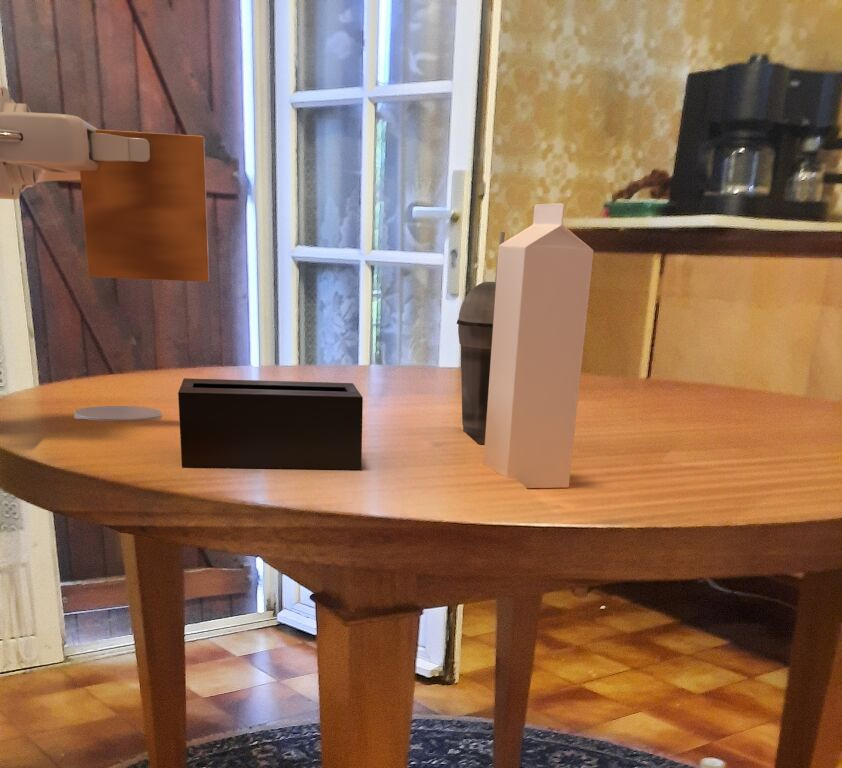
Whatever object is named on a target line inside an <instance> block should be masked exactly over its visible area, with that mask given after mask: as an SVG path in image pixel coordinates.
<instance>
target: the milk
mask: <svg viewBox="0 0 842 768" xmlns="http://www.w3.org/2000/svg"><path fill="white" fill-rule="evenodd" d="M564 215H565V205H564V202H563V203H562V202H560V203H559V202H558V203H557V202H556V203H536V204H535V205H534V209H533V217H532V224H531V225H530V226H528V227H526V228H525V229H523V230H522V231H520V232H518V233H517V234H515V235H514V236H512V237H510V238H508V239H507V240H504V243H502V244H500V245H499V244H498V248H499V249H498V250H497V258H498V263H497V262H496V267H497V277H496V276H495V277H496V291H495V305H494V320H493V334H492V348H491V362H490V377H489V391H488V405H487V419H486V434H485V445H484V450H483V461H482V463H483V466H484V467H487V468H488V469H490V470H491V471H494V472H495V473H497V474H498V475H501V476H502V477H503V478H506V479H516V480H517V481H518V482H519V483H520V484H521V485H522V486H523V487H524V488H525V489H560V488H563V489H564V488H565V489H567V488H569V487H570V481H571V480H570V479H571V469H572V461H573V460H572V459H573V450H574V442H575V433H576V431H575V430H576V421H577V413H578V401H579V394H580V393H579V392H580V385H581V384H580V383H581V374H582V364H583V355H584V347H585V336H586V327H587V317H588V306H589V297H590V291H591V290H590V289H591V279H592V271H593V270H592V269H593V259H594V249H593V248H591V247H590V246H589V245H588V244H587V243H586V242H584V241H583V240H582V239H580V238H579V237H578V236H577V235H576V234H575V233H573V232H572V230H569V228H567V227H566V226H565V225H564Z"/></svg>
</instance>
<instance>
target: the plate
mask: <svg viewBox="0 0 842 768" xmlns="http://www.w3.org/2000/svg"><path fill="white" fill-rule="evenodd" d="M163 415H164V414H163V412H162V410H159V409H156V408H151V407H144V406H132V405H129V406H128V405H100V406H99V405H98V406H88V407H81V408H78V409H76V410H74V411H73V419H79V420H89V421H99V422H141V421H142V422H143V421H164V416H163Z"/></svg>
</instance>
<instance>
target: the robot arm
mask: <svg viewBox="0 0 842 768" xmlns="http://www.w3.org/2000/svg"><path fill="white" fill-rule="evenodd" d="M96 129H98V128H97V127H96V126H93V124H90V123H89V122H88V121H86V120H84V119H83V118H81V117H80V116H77V115H72V114H66V113H65V114H64V113H51V112H50V113H49V112H32V111H31V108H30V106H29V105H28V104H27V103H23V102H22V103H21V102H18V103H17V102H15V100H14V99H13V98H12V96H11V94H10V92H9V90H8V88H7V87H6V86H5V85H1V84H0V200H13V201H14V200H18V199H19V198H20V196H21V193H23V192H24V191H26V189H29V188H33V187H34V186H36V184H38V183H43V182H44V183H45V182H57V181H74V180H81V178H80V171H95V170H97V169H98V168H99V163H97V162H95V161H105V162H110V161H131V162H149V161H150V160H151V145H150V143H149V142H148V141H147V140H146V139H142V138H128V137H123V136H117V135H112V134H106V133H96Z"/></svg>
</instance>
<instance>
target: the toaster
mask: <svg viewBox="0 0 842 768" xmlns="http://www.w3.org/2000/svg"><path fill="white" fill-rule="evenodd" d="M177 396H178V399H177V400H178V417H179V420H178V421H179V439H180V457H181V469H222V470H223V469H224V470H225V469H227V470H228V469H230V470H231V469H232V470H283V471H284V470H287V471H288V470H291V471H347V472H348V471H349V472H350V471H352V472H354V471H355V472H356V471H357V472H362V454H363V411H364V410H363V407H364V397H363V395H362V394H361V393H360V392H359V390H358V389H357V387H356V385H355V384H354V383H353V382H331V381H329V382H326V381H293V380H292V381H291V380H262V379H261V380H256V379H255V380H254V379H223V378H221V379H219V378H188V377H187V378H185V377H184V378H183V379H182V382H181V385H180V386H179V390H178V392H177Z"/></svg>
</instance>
